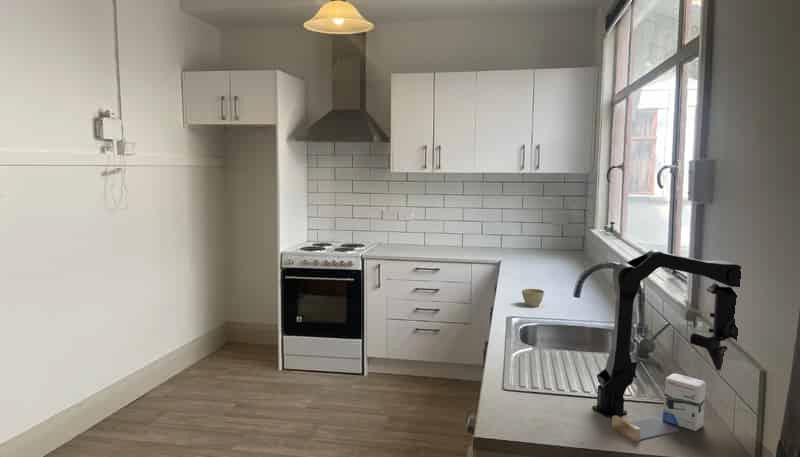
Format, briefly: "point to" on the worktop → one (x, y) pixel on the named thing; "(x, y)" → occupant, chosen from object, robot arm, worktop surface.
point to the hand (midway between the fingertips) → (722, 369)
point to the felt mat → (653, 428)
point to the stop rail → (626, 428)
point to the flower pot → (532, 297)
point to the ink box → (684, 401)
